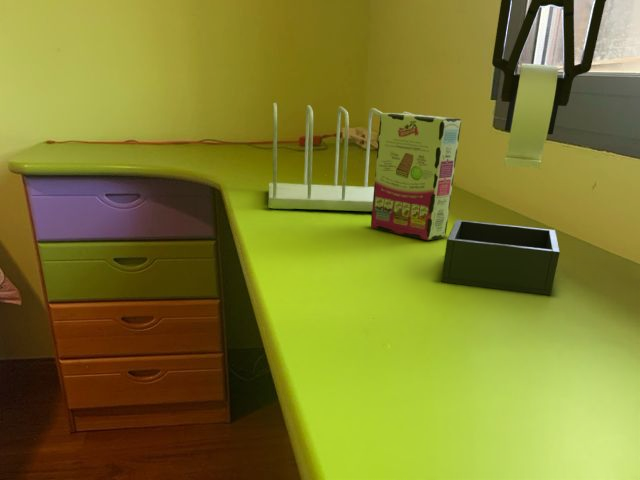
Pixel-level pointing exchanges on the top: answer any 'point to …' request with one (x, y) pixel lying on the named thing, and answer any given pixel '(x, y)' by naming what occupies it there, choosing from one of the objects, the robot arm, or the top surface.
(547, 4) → the robot arm
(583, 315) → the top surface
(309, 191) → the file sorter
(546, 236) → the tote
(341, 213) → the top surface
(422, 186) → the candy bar box
